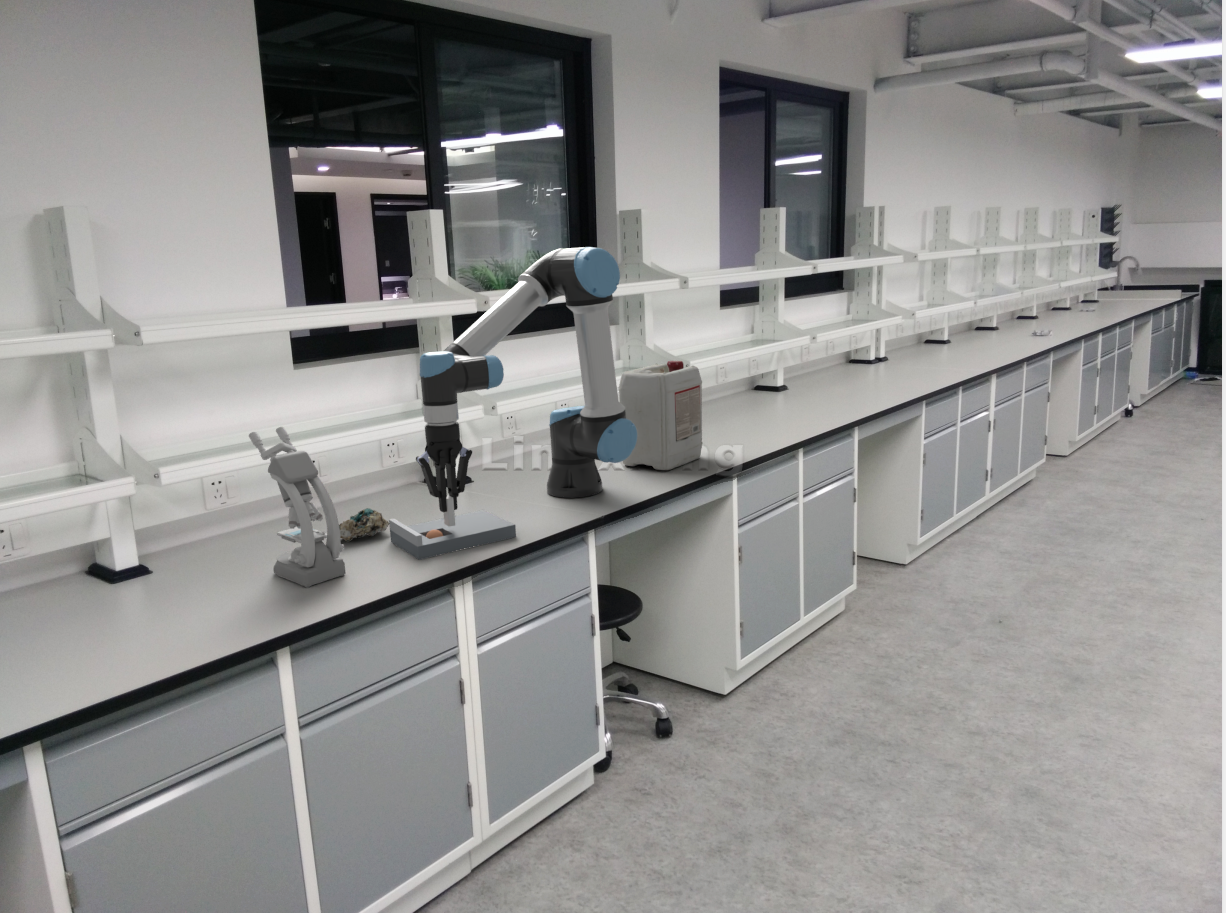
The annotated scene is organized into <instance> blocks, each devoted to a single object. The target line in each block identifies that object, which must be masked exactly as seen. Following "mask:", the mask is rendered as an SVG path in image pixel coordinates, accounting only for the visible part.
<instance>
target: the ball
mask: <svg viewBox="0 0 1226 913" xmlns="http://www.w3.org/2000/svg"><path fill="white" fill-rule="evenodd" d="M441 536H443V534H442V532H441V531H439V530H431V531H429V532H428V533H427V535H426V537H427V538H429V539H432V538H437V537H441Z"/></svg>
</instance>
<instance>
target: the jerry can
mask: <svg viewBox="0 0 1226 913" xmlns="http://www.w3.org/2000/svg"><path fill="white" fill-rule="evenodd" d="M702 389H703V380H702V376H701V373H700V371H699V368H698V367H697V366H695V365H691V366H687V367H684V362H683V361H682V360H668V361H667V363H661V364H660V363H655V364H652V365H648V366H644V367H639V368H635V369H630V370H628V369H627V370H626V371H622V373H621V377H620V381H619V385H618V393H619V394H618V399H619V403H621V404H622V405H623V406H624V407H625V412H626V419H628V420H630V421H632V423H633V424H634V425H635V427H636V429H637V442H636V445H635V448H634V450H632V453H631V454H630V456H629V457H628V458H627V459H625V460H624V461H622V463H623V465H625V466H628V467H636V466H638V465H646V466H652V467H653V469H655V471H656V470H657V471H670V470H673V469H676V468H677V467H681V466H684V465H685V464H689V463H691V462H693V461H696V460H698V459H700V458H701V456H702V455H701V454H702V449H703V390H702Z"/></svg>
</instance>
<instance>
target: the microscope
mask: <svg viewBox="0 0 1226 913" xmlns="http://www.w3.org/2000/svg"><path fill="white" fill-rule="evenodd" d="M275 432H276V434H277V436H278V438H279V439H280V440H281V442H280V443H277V444H275V445H274V446H272V447H270V448H268V449H267V450H266V448H265V447H264V443H263V440H262V438H261V437H260V435H259V433H258V431H251V432H250V433H248V437H249V439H250V441H251V443H252V445H253V446H255V448H256V449H257V450H258V452H259V454H260V458H261V459H262V460H263V461H267V460H269V461H270V463H269V465H268V469H267V472H268V473H269V475H270V479H272V480H274V481H276V484H277V485H278V489H279V491H280V494H281V498H282V500H283V503H284V505H285V507H286V508H288V509H289V510H288V517H287V518H288V527H289V528H288V529H284V530H280V531H278V532H276V536H279V537H280V538H281V539H283V540H286V541H288V542H291V543H294V544H295V543H299V544H301V545H300V546H297V547H295V548H294V549H292V550H289V551H285V552H283V553H281V554H279V555H278V556H277V557H276V561H275V564H274V565H273V570H272V571H273V573H274V574H275V575H277V577H279V578H283V579H286V580H288V581H291V582H293V583H296V584H298V585H301V586H303V587H304V588H310V587H311V586H314V585H316V584H320V583H323V582H326V581H329V580H332V579H335V578H338V577H344V576H345V575H346V565H345V564H346V563H345V561H344V558H342V557H340V553H341V552H343V549H345V545H344V544H342V542H341V538H340V529H339V525H340V522H339V518H338V515H337V514H338V513H337V511H336V508H335V505H334V502H333V500H332V498H331V496H330V493H329V491H328V489H327V487H326V486H325V484H324V482H323V481H322V479H321V478H320V476H319V471H318V468H317V467H316V465H315V463H314V462H313V460H312V459H311V456H310V455H309V452H307V451H305V450H297V448H296V447H295V446H294V444H293V443H292V442H291V440H290V439H291V437H290V435H289V434H288V432H287V430H286V429H285V427H284V426H278V427H277V428H276V430H275ZM280 452H284V453H282V454H279V453H280ZM309 484H310V485H311V486H312V488H313V490H314V492H315V494H316V496H317V498H318V500H319V503H320V505H321V508H322V511H323V514H324V515H323V514H322V513H321V512H320V511H319V508H318V507H317V506H316V504H314V502H311V501H312V500H313V498H314V496H313V494H312V490H311V488H310V485H309ZM324 516H325V521H326V532H325V530H323V531H322V530H318V529H315V528H313V524H312V522H315V521H317V522H321V521H322V520H324ZM325 539H326V541H325V542H326V543H324V542H323V541H324V540H325Z"/></svg>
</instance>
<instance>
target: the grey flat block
mask: <svg viewBox="0 0 1226 913" xmlns="http://www.w3.org/2000/svg"><path fill="white" fill-rule="evenodd" d="M388 522H389V525H388V527H389V534H390V536H389V537H390V543H392V544H393V545H395V546H396V547H398V548H399V549H401V550H403V551H404V552H406V553H408V554H409V555H410V556H412V557H413V558H415V559H417V560H418V561H419V560H423V559H424V560H425V559H428V558H433V557H437V556H441V555H440V554H442V555H445V554H444V553H446V554H449V553H448V552H450V553H453V552H452V551H454V552H457V551H456V550H459V551H461V550H460V549H463V550H465V549H464V548H467V549H470V548H469V547H471V548H474V547H473V546H476V547H479V546H478V545H480V546H483V545H482V544H484V545H488V544H492V543H497V542H499V541H500V542H501V541H505V540H509V539H514V538H516V537H517V531H516V529H517V528H516V527H517V526H516V523H513V522H511V521H508V520H507V519H505V518H503V517H500V516H498V515H496V514H494V513H492V512H490V511H488V510H485V509H481V510H475V511H471V512H467V513H463V514H462V513H461V514H456V515H455V525H454V526H450V527H449V526H447V525H446V524H444V517H443V518H439V519H433V520H428V521H424V522H419V523H413V524H409V525H406V524H404V523H402V522H401V521H400V520H397V519H396V518H390V519H388ZM431 530H439V531H441V532H442V534H443V536H441V537H437V538H432V539H429V538H427V537H426V535H427V533H428V532H429V531H431ZM513 537H514V538H513ZM496 541H497V542H496ZM487 543H488V544H487ZM436 555H437V556H436Z"/></svg>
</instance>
